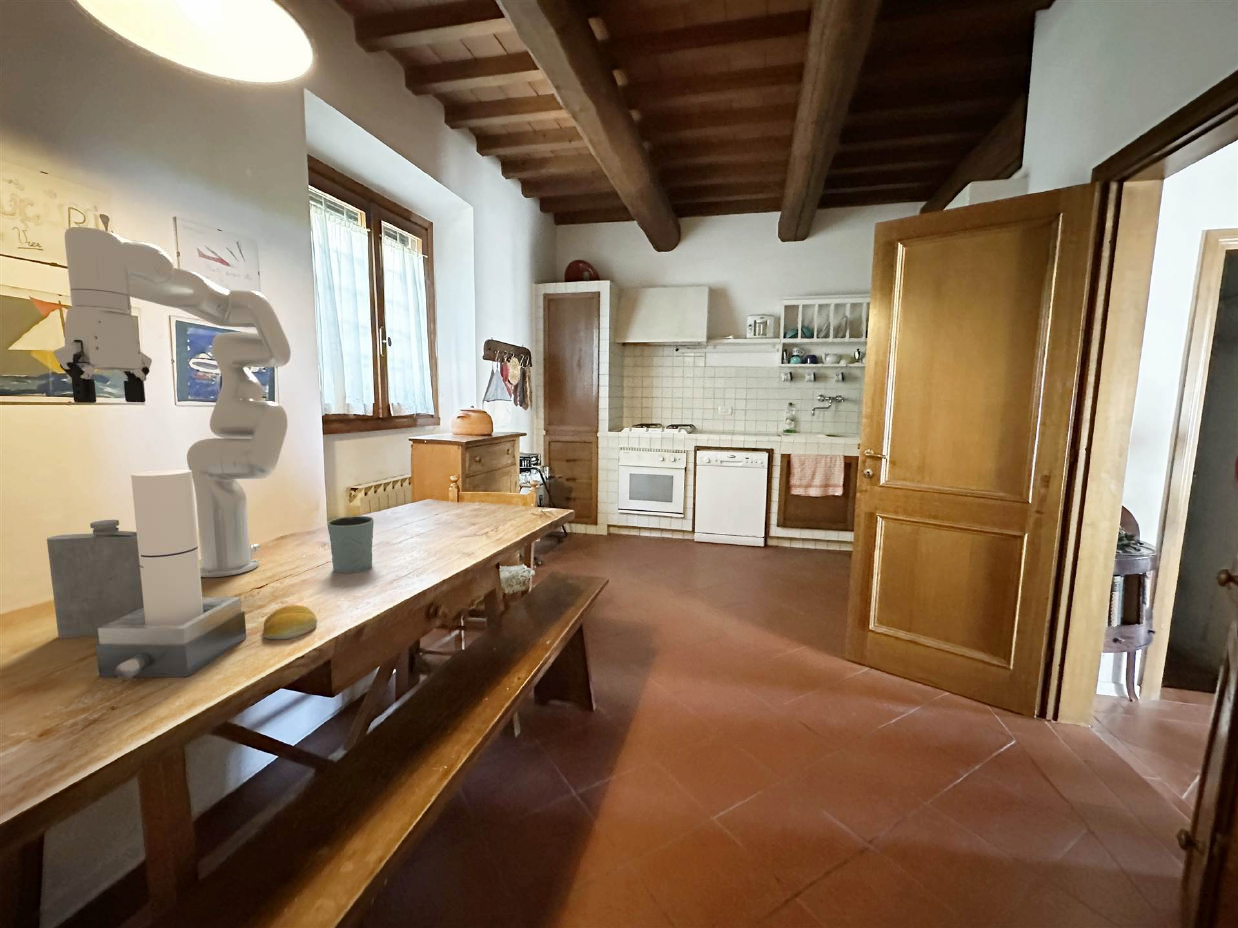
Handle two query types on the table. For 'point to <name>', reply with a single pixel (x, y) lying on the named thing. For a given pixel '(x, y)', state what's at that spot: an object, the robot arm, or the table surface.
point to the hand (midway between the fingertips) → (111, 402)
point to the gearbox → (170, 642)
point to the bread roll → (289, 622)
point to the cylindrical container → (167, 546)
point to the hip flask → (94, 578)
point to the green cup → (351, 543)
